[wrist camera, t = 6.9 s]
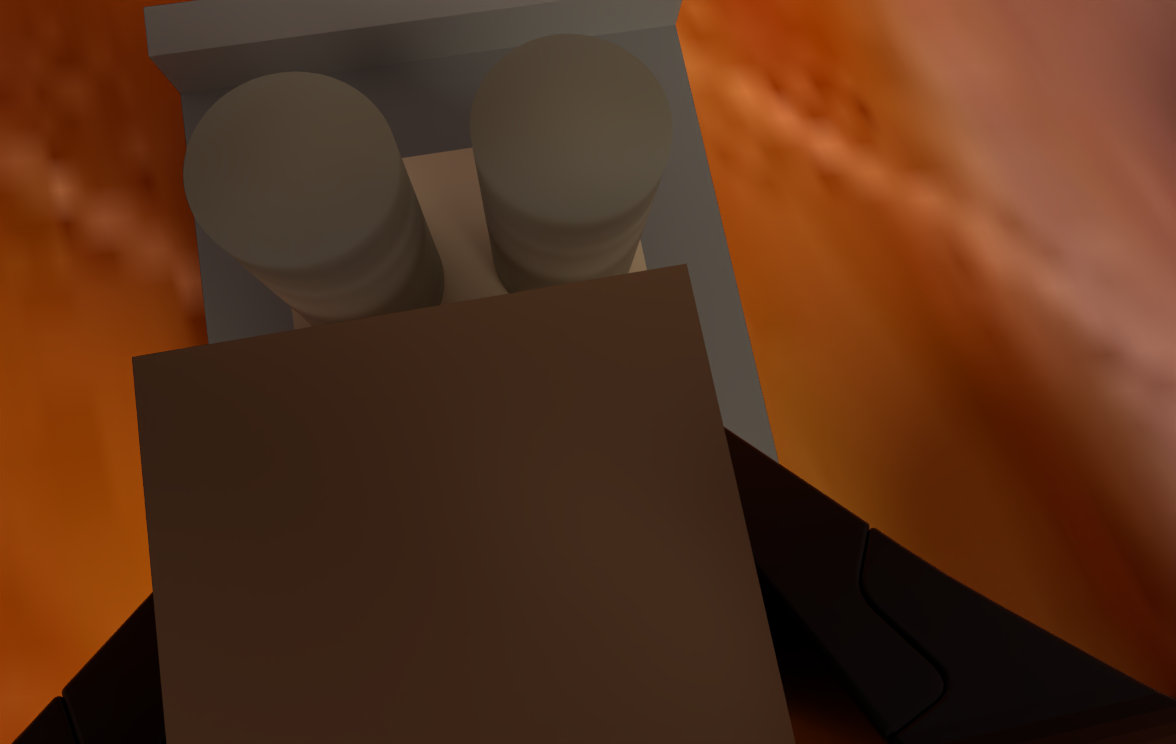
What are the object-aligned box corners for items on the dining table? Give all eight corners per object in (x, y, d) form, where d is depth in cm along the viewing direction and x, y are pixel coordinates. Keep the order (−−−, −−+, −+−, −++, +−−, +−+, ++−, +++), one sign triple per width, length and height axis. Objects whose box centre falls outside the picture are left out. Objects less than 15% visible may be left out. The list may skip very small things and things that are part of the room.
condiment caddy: (721, 661, 15) (1164, 1003, 4) (362, 739, 14) (-163, 1372, 4) (611, 148, 17) (731, -492, 6) (290, 197, 16) (-189, -423, 6)
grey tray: (808, 675, 18) (861, 706, 15) (286, 792, 17) (231, 850, 14) (656, 19, 21) (675, -62, 18) (202, 82, 20) (143, 7, 17)
